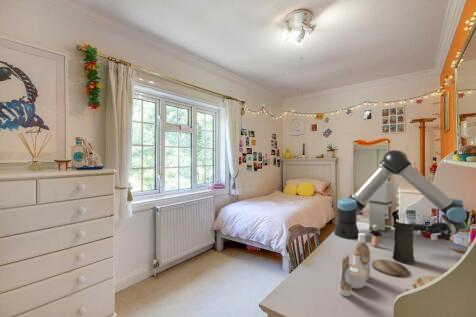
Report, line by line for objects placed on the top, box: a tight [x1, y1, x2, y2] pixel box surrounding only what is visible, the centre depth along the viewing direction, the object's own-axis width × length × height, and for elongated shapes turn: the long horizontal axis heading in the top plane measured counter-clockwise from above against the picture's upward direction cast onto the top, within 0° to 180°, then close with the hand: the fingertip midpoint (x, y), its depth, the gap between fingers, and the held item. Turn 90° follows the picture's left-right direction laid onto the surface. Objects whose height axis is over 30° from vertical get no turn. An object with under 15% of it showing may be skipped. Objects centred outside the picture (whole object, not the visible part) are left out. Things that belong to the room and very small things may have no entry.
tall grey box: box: [368, 180, 393, 235], centre depth 166 cm, size 11×11×35 cm
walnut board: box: [371, 259, 409, 278], centre depth 109 cm, size 14×14×1 cm
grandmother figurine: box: [368, 225, 384, 249], centre depth 136 cm, size 8×4×13 cm, turn 47°
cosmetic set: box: [338, 232, 371, 297], centre depth 95 cm, size 25×9×19 cm, turn 135°
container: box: [392, 222, 416, 265], centre depth 118 cm, size 9×9×18 cm
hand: (417, 233), depth 121 cm, fingers open, 13 cm apart
